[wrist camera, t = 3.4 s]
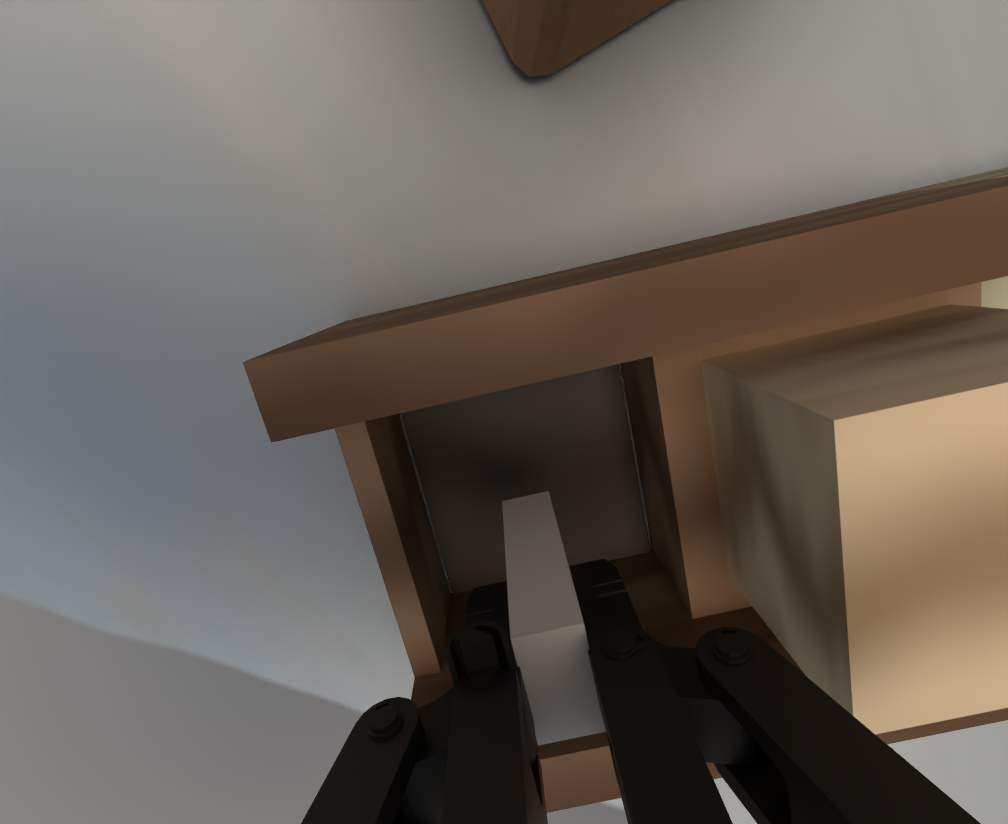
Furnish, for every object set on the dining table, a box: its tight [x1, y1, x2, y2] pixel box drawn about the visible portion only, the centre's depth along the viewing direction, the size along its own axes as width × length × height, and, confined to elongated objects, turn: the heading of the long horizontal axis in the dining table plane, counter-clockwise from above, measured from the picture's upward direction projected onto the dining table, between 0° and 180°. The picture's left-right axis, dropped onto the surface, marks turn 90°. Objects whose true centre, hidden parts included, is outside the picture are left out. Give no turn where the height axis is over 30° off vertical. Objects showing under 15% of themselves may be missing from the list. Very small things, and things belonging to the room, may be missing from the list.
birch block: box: [700, 304, 1008, 734], centre depth 15 cm, size 8×8×7 cm
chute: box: [243, 168, 1008, 812], centre depth 19 cm, size 15×30×10 cm, turn 103°
